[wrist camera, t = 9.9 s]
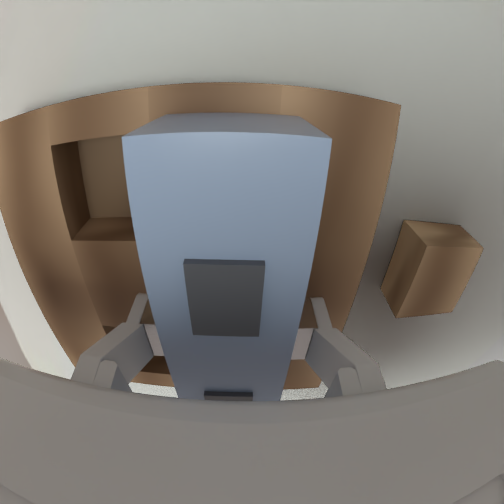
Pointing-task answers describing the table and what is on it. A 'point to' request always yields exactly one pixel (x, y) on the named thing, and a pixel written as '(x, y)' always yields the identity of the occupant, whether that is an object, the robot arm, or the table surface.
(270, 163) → the strip
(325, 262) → the board
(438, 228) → the block
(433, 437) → the robot arm
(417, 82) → the table surface
